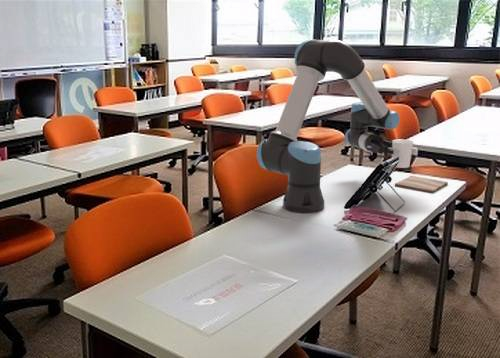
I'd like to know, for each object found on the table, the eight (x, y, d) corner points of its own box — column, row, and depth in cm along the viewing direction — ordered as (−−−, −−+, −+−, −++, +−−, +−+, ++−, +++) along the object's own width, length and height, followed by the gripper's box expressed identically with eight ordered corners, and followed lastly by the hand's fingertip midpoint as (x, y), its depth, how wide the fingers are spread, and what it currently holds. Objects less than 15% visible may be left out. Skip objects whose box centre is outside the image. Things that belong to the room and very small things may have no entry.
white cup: (410, 169, 197) (412, 143, 194) (389, 167, 199) (391, 142, 197) (411, 164, 204) (413, 139, 201) (391, 163, 207) (392, 138, 204)
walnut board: (432, 193, 203) (432, 190, 202) (394, 185, 213) (395, 183, 213) (447, 184, 214) (447, 182, 214) (411, 177, 224) (411, 175, 224)
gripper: (390, 149, 222) (428, 159, 202) (351, 153, 214) (386, 165, 194) (391, 132, 220) (429, 141, 200) (352, 135, 212) (387, 145, 192)
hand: (408, 152), depth 197 cm, fingers closed on white cup, 8 cm apart
